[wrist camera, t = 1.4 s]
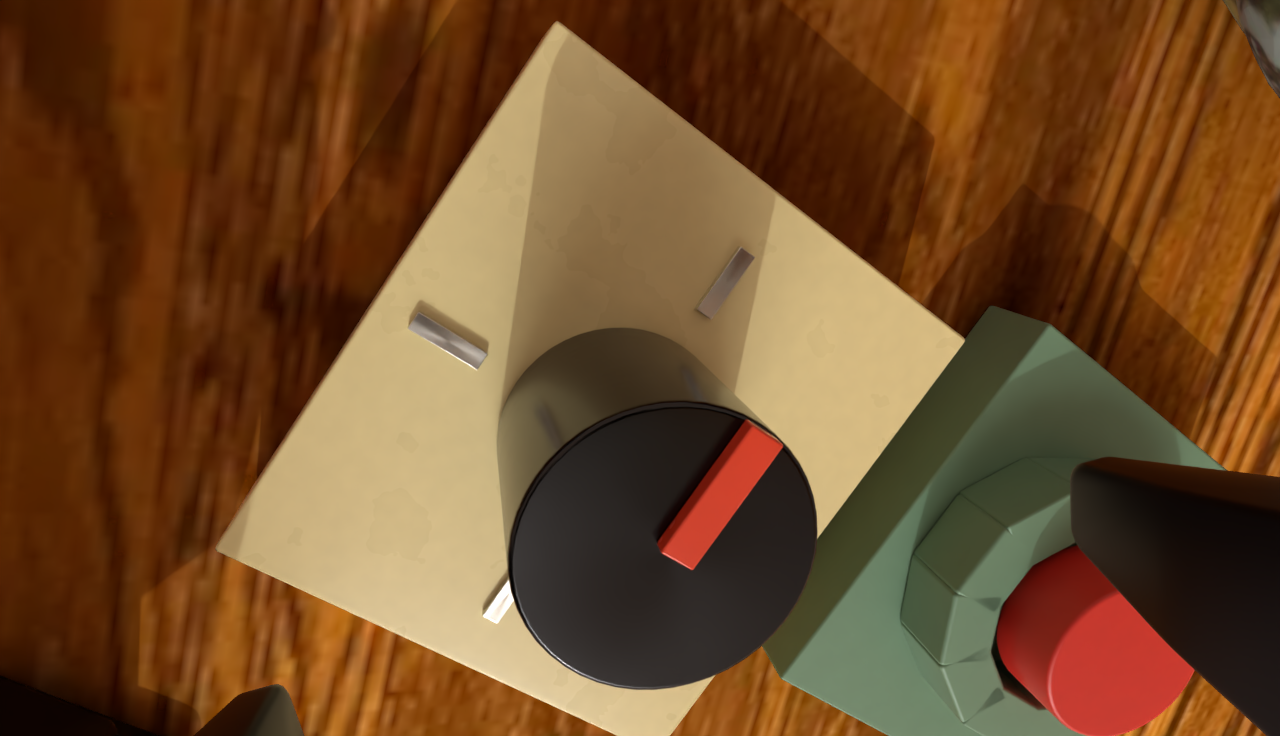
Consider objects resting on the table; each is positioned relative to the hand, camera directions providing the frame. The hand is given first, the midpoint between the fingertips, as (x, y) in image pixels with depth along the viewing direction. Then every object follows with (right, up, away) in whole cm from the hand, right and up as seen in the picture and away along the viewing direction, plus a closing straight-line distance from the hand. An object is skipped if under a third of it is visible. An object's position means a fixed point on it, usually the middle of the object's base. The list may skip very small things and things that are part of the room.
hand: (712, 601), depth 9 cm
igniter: (+8, -2, +13) cm, 15 cm away
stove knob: (-1, +1, +7) cm, 7 cm away
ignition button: (+9, -3, +9) cm, 13 cm away
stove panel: (-2, +2, +9) cm, 10 cm away
